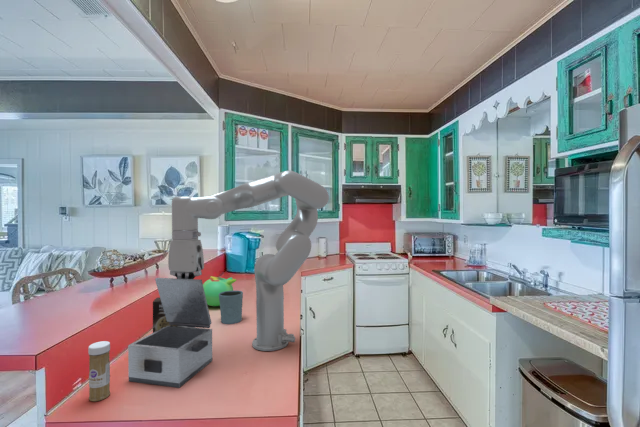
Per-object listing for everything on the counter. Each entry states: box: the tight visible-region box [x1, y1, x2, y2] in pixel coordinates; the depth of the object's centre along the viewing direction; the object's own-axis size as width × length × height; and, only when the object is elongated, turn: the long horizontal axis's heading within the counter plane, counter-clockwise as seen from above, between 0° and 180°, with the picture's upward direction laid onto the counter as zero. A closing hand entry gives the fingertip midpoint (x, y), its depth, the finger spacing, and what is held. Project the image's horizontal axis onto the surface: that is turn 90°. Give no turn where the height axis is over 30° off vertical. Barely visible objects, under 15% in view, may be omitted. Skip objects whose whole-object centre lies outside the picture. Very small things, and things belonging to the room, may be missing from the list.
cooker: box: [127, 325, 213, 389], centre depth 95 cm, size 20×16×10 cm
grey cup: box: [219, 290, 244, 325], centre depth 140 cm, size 10×10×12 cm
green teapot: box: [203, 275, 237, 307], centre depth 163 cm, size 18×17×15 cm
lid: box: [154, 277, 212, 329], centre depth 101 cm, size 16×17×2 cm
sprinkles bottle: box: [87, 340, 111, 402], centre depth 82 cm, size 5×5×14 cm
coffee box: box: [152, 296, 183, 333], centre depth 115 cm, size 9×6×16 cm
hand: (185, 294), depth 102 cm, fingers closed
